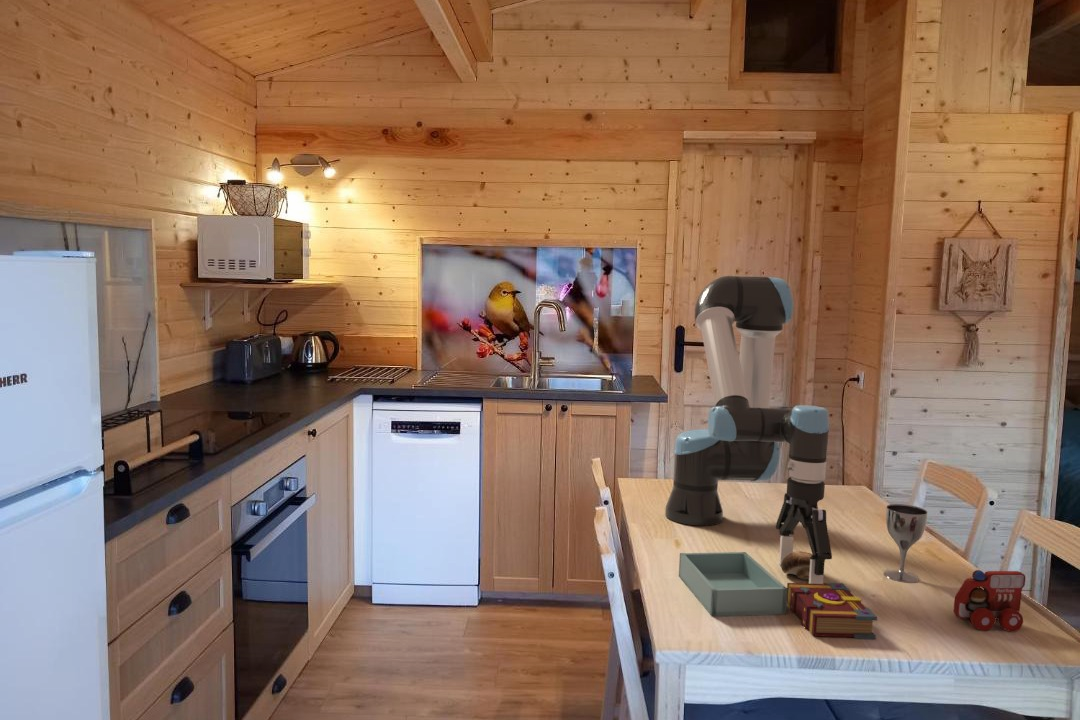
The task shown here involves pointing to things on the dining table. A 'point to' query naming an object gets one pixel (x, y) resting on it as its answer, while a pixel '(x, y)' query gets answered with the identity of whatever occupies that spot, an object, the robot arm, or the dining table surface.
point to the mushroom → (797, 564)
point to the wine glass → (904, 535)
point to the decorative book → (830, 610)
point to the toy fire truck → (991, 599)
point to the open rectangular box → (732, 584)
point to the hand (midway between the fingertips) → (799, 576)
